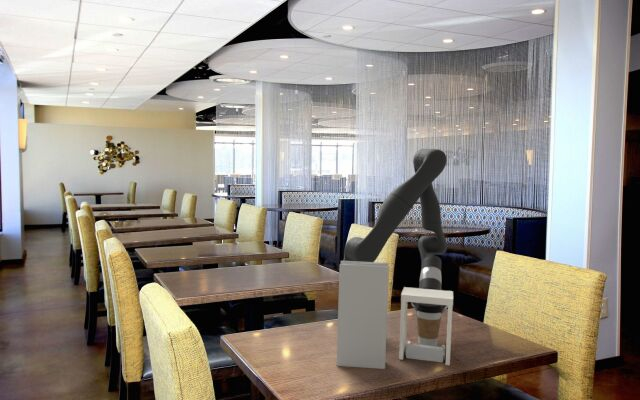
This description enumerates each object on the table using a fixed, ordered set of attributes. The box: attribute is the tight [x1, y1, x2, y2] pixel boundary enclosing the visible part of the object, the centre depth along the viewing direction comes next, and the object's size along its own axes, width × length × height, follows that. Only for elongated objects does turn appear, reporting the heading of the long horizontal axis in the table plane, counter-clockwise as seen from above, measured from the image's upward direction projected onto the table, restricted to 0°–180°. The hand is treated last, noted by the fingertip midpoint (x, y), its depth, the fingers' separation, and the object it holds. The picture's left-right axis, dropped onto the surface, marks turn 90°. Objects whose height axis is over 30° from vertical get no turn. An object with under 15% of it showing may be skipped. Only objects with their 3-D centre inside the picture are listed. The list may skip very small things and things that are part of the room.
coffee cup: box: [415, 303, 442, 347], centre depth 167 cm, size 8×8×15 cm
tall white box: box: [336, 260, 390, 370], centre depth 151 cm, size 14×6×30 cm, turn 84°
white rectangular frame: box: [398, 286, 454, 366], centre depth 160 cm, size 15×13×20 cm
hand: (428, 327), depth 171 cm, fingers closed
